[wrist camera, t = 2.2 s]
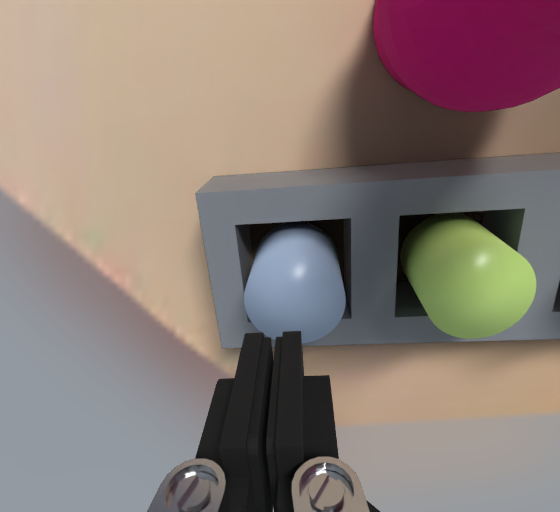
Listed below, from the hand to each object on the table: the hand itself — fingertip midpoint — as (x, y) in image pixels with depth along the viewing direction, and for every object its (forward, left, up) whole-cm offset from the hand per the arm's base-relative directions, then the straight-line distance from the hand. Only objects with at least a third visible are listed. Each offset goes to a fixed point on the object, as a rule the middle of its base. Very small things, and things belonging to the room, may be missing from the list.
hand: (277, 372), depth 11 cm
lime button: (-7, 0, -8) cm, 11 cm away
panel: (-7, 0, -10) cm, 12 cm away
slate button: (0, 0, -8) cm, 8 cm away
